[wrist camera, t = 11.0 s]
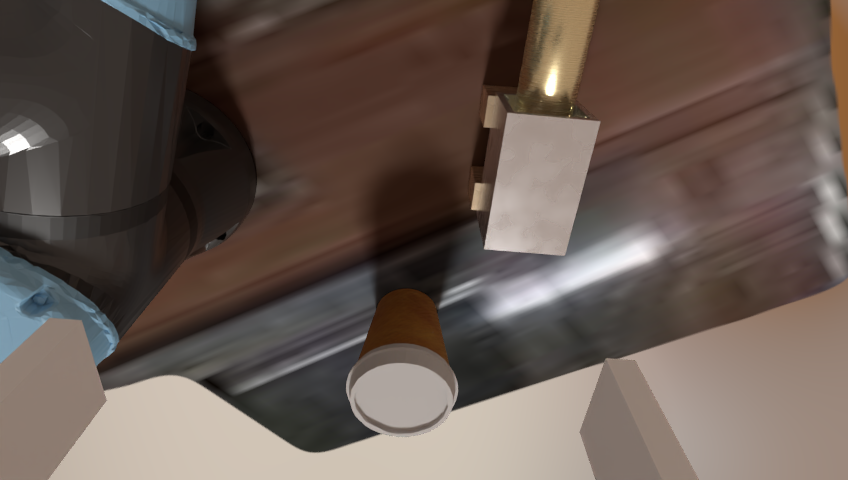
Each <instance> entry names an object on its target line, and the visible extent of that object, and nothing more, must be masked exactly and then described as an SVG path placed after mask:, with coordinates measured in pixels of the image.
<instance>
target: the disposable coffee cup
mask: <svg viewBox="0 0 848 480" xmlns="http://www.w3.org/2000/svg"><path fill="white" fill-rule="evenodd" d="M346 392H347V395H348V399H349V401H350V403H351V407H352V410H353V412H354V414H355V416H356V417H357V418H358V419H359V420H360V421H361V422H362V423H363V424H364V425H365V426H367V427H369V428H370V429H372V430H374V431H376V432H379V433H381V434H385V435H389V436H396V437H409V436H415V435H421V434H424V433H427V432H429V431H431V430H433V429H435V428H437V427H438V426H439V425H441V424H442V423H443V422H444V421H445V420H446V419H447V417H448V416H449V414H450V412H451V409H452V407H453V405H454V404H455V401H456V399H457V395H458V383H457V379H456V377H455V374H454V372H453V370H452V369H451V368H450V366H449V362H448V359H447V354H446V350H445V346H444V341H443V337H442V333H441V328H440V323H439V319H438V315H437V310H436V307H435V304H434V302H433V301H432V299H430V298H429V297H428V296H427V295H426V294H424V293H422V292H420V291H418V290H414V289H398V290H394V291H392V292H390V293H388V294H387V295H385V296H384V297H383V298H382V299H381V300H380V302H379V304H378V306H377V309H376V312H375V315H374V317H373V320H372V323H371V326H370V329H369V331H368V334H367V337H366V340H365V343H364V346H363V349H362V351H361V354H360V357H359V360H358V362H357V363H356V364H355V365H354V366H353V368H352V369H351V371H350V373H349V375H348V379H347V382H346Z"/></svg>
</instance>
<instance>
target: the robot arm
mask: <svg viewBox="0 0 848 480" xmlns="http://www.w3.org/2000/svg"><path fill="white" fill-rule="evenodd" d="M196 4H197V0H0V480H48V479H49V477H50V476H51V475H52V473H53V472H54V471H55V469H56V468H57V467H58V465H59V464H60V463H61V461H62V460H63V458H64V457H65V456H66V454H67V453H68V452H69V450H70V449H71V448H72V446H73V445H74V444H75V442H76V441H77V440H78V438H79V437H80V436H81V434H82V433H83V432H84V430H85V429H86V427H87V426H88V425H89V423H90V422H91V421H92V419H93V418H94V417H95V415H96V414H97V413H98V411H99V410H100V409H101V407H102V406H103V405H104V403H105V402H106V397H105V394H104V390H103V387H102V384H101V381H100V378H99V374H98V371H97V368H96V366H97V365H98V364H99V363H100V362H101V361H102V360H103V359H104V358H106V357H107V356H109V355H110V354H111V353H112V352H113V351H114V350H115V349H116V346H117V343H118V342H119V340H120V339H121V338H122V337H123V335H124V334H125V333H126V332H127V331H128V329H129V328H130V327H131V326H132V324H133V323H134V322H135V321H136V319H137V318H138V317H139V316H140V315H141V313H142V312H143V311H144V310H145V308H146V307H147V306H148V305H149V303H150V302H151V301H152V300H153V299H154V297H155V296H156V295H157V294H158V292H159V291H160V290H161V289H162V287H163V286H164V285H165V284H166V283H167V281H168V280H169V279H170V278H171V276H172V275H173V274H174V273H175V271H176V270H177V269H178V268H179V267H180V265H181V264H182V263H183V262H184V260H186V259H189V258H191V257H193V256H195V255H198V254H200V253H202V252H205V251H207V250H209V249H212V248H214V247H216V246H218V245H219V244H221V243H222V242H224V241H225V240H227V239H228V238H229V237H230V236H231V235H232V234H233V233H234V232H235V231H236V230H237V229H238V227H239V226H240V225H241V223H242V222H243V221H244V219H245V218H246V216H247V215H248V213H249V211H250V209H251V207H252V205H253V202H254V198H255V193H256V171H255V166H254V162H253V158H252V156H251V153H250V150H249V148H248V146H247V144H246V142H245V140H244V139H243V137H242V135H241V134H240V132H239V131H238V129H237V128H236V127H235V126H234V124H233V123H232V122H231V121H230V120H229V119H228V118H227V117H226V116H225V115H224V114H223V113H222V112H221V111H220V110H219V109H218V108H217V107H215V106H214V105H213V104H211V103H210V102H208V101H207V100H205V99H204V98H202V97H200V96H199V95H197V94H195V93H193V92H191V91H189V90H186V85H187V79H188V72H189V66H190V60H191V54H192V51H195V50H196V45H197V44H196V39H195V38H194V36H193V32H194V23H195V13H196ZM580 434H581V437H582V440H583V443H584V446H585V449H586V452H587V455H588V458H589V461H590V464H591V467H592V470H593V473H594V476H595V479H596V480H699V479H698V477H697V476H696V474H695V472H694V470H693V468H692V466H691V464H690V462H689V460H688V459H687V457H686V455H685V453H684V451H683V449H682V447H681V446H680V444H679V442H678V440H677V438H676V436H675V434H674V432H673V431H672V429H671V427H670V425H669V423H668V421H667V419H666V417H665V415H664V414H663V412H662V410H661V408H660V406H659V404H658V402H657V401H656V399H655V397H654V395H653V393H652V391H651V389H650V387H649V385H648V384H647V382H646V380H645V378H644V376H643V374H642V373H641V371H640V369H639V367H638V365H637V363H636V361H635V360H622V359H609V358H606V359H605V362H604V365H603V368H602V371H601V374H600V376H599V379H598V382H597V385H596V388H595V391H594V393H593V396H592V399H591V402H590V405H589V407H588V410H587V413H586V416H585V419H584V421H583V424H582V427H581V430H580Z"/></svg>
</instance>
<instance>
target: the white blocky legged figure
mask: <svg viewBox="0 0 848 480" xmlns="http://www.w3.org/2000/svg"><path fill="white" fill-rule="evenodd" d="M517 89H518V88H515V87H505V86H494V85H484V84H483V88H482V95H481V102H480V109H479V116H480V119H481V121H482V124H483V127H486V128H490V132H489V138H488V145H487V151H486V157H485V164H484V167H480V166H471V171H470V178H469V185H468V195H469V200H470V206H471V210H477V217H478V222H479V227H480V232H481V237H482V242H483V247H484V249H489V250H501V251H514V252H526V253H538V254H551V255H563V256H565V253H566V249H567V246H568V242H569V238H570V234H571V230H572V227H573V223H574V219H575V215H576V212H577V208H578V204H579V200H580V197H581V193H582V189H583V185H584V182H585V178H586V174H587V170H588V167H589V163H590V159H591V155H592V152H593V148H594V144H595V140H596V137H597V133H598V129H599V125H600V122H601V121H600V120H598V119H597V118H596V117H595V116H594V115H593V114H592V113H590V112H589V111H588V110H587V109H586V108H585V107H584V106H582V105H581V104H580V103H579V102H578V101H577V100H576V103H575V107H574V112H573V116H572V117H568V116H557V115H546V114H536V113H525V112H514V106H515V101H516V95H517Z"/></svg>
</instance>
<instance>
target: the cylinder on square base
mask: <svg viewBox="0 0 848 480" xmlns="http://www.w3.org/2000/svg"><path fill="white" fill-rule="evenodd" d="M599 2H600V0H533V5H532V11H531V16H530V22H529V28H528V33H527V39H526V44H525V50H524V56H523V61H522V67H521V72H520V78H519V84H518V89H517V95H516V101H515V106H514V112H525V113H536V114H546V115H557V116H568V117H572V116H573V112H574V107H575V103H576V99H577V95H578V90H579V86H580V82H581V78H582V74H583V69H584V65H585V61H586V57H587V52H588V48H589V44H590V40H591V36H592V31H593V27H594V23H595V19H596V14H597V10H598V6H599Z"/></svg>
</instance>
